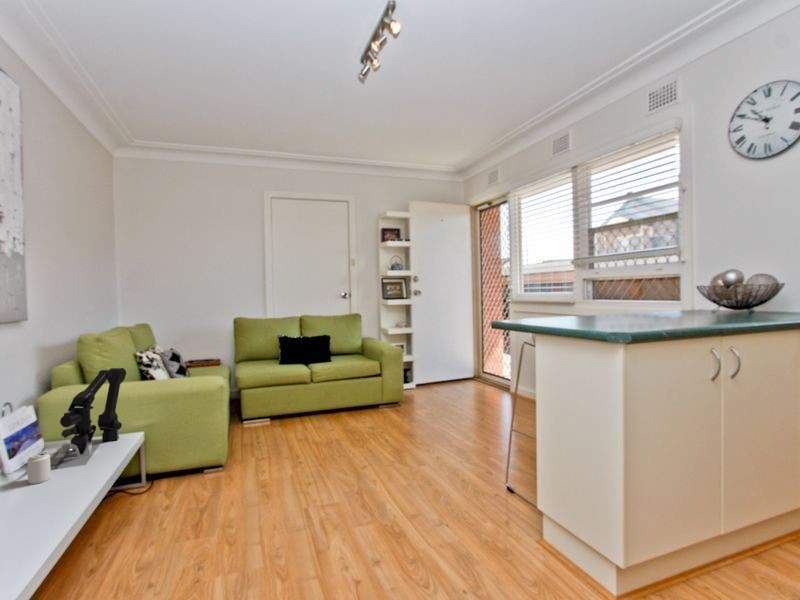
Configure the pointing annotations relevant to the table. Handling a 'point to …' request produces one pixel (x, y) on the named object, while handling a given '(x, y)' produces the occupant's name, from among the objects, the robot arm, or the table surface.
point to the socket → (86, 450)
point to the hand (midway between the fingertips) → (84, 450)
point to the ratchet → (61, 455)
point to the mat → (75, 458)
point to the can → (39, 467)
